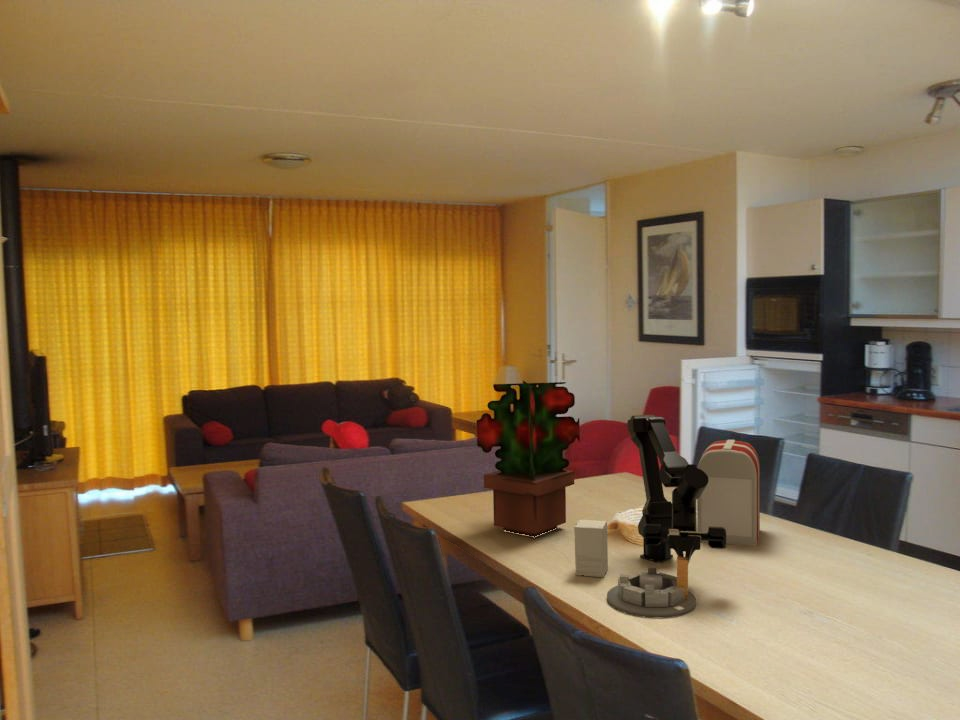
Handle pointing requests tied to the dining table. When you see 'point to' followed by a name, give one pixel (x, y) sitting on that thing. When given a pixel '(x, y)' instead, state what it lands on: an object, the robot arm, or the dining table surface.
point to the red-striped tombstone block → (731, 491)
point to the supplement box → (591, 548)
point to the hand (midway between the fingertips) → (684, 569)
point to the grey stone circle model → (637, 610)
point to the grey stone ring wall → (671, 587)
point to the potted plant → (529, 455)
